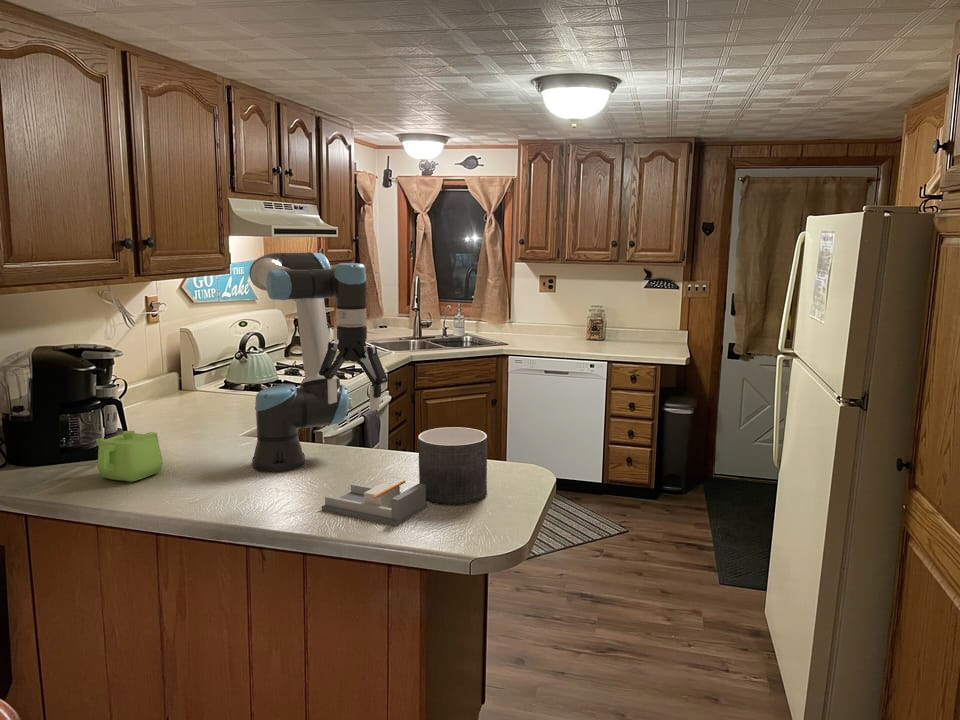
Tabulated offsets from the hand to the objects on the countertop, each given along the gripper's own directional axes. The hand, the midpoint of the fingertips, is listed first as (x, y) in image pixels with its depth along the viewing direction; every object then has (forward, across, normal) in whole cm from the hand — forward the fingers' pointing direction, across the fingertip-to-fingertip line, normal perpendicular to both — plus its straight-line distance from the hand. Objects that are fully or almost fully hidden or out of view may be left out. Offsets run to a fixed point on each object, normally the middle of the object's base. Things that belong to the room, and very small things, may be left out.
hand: (353, 406), depth 187 cm
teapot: (+25, -66, -20) cm, 73 cm away
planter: (+23, +24, +11) cm, 35 cm away
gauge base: (+23, +12, -8) cm, 27 cm away
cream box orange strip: (+21, +14, -7) cm, 27 cm away
